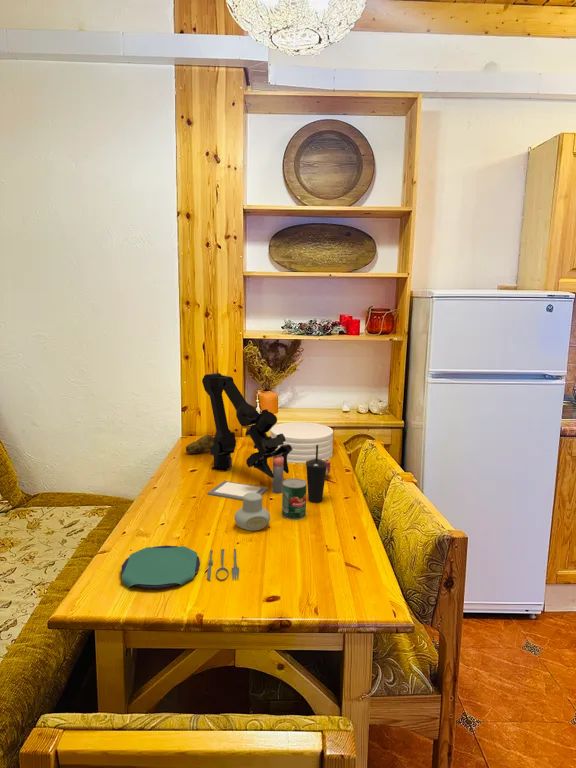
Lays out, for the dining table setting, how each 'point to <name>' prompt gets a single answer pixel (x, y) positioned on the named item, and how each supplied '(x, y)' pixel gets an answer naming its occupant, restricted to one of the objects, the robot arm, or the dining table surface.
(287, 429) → the plate stack
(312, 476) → the drinking cup
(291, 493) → the canned tomato
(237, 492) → the writing mat
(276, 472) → the marker
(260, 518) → the air freshener
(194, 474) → the dining table surface
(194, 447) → the potato
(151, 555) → the cutlery set
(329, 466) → the flower
